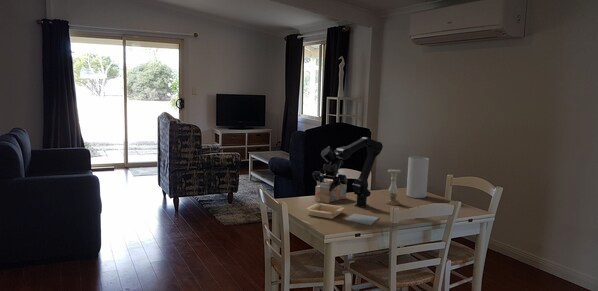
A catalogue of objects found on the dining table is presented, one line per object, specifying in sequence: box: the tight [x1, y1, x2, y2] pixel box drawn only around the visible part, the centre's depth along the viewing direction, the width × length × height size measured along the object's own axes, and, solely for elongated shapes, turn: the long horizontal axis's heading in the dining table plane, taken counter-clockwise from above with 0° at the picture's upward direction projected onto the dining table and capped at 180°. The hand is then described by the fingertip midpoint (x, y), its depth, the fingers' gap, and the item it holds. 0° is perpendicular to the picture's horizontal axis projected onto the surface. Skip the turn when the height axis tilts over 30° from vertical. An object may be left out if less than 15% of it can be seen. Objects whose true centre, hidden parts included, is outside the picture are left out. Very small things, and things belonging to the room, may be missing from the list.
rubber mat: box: [344, 213, 380, 226], centre depth 235 cm, size 14×14×1 cm
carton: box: [305, 202, 345, 219], centre depth 242 cm, size 17×17×4 cm
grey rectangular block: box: [319, 181, 333, 204], centre depth 241 cm, size 5×5×10 cm
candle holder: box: [384, 168, 402, 206], centre depth 272 cm, size 9×9×20 cm
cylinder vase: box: [406, 156, 430, 199], centre depth 292 cm, size 12×12×25 cm
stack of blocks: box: [314, 179, 348, 204], centre depth 277 cm, size 21×6×12 cm, turn 132°
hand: (325, 190), depth 240 cm, fingers closed on grey rectangular block, 5 cm apart
